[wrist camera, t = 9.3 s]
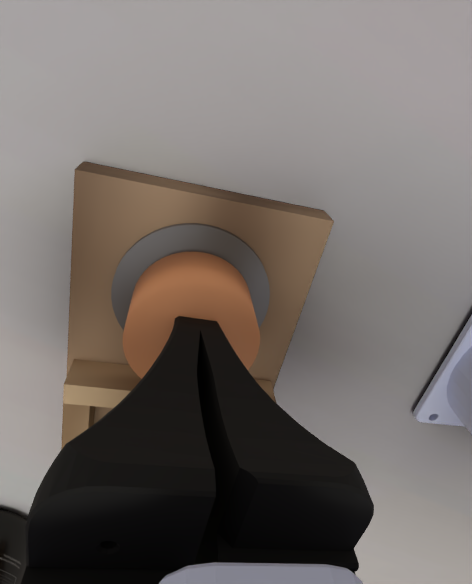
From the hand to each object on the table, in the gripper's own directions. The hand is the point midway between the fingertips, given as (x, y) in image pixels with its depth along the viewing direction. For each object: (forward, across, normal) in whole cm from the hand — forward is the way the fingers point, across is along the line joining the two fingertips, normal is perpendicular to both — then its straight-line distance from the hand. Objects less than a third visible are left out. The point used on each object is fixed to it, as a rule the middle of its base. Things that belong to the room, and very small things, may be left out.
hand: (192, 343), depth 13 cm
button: (+2, 0, 0) cm, 2 cm away
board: (+4, 0, +5) cm, 7 cm away
